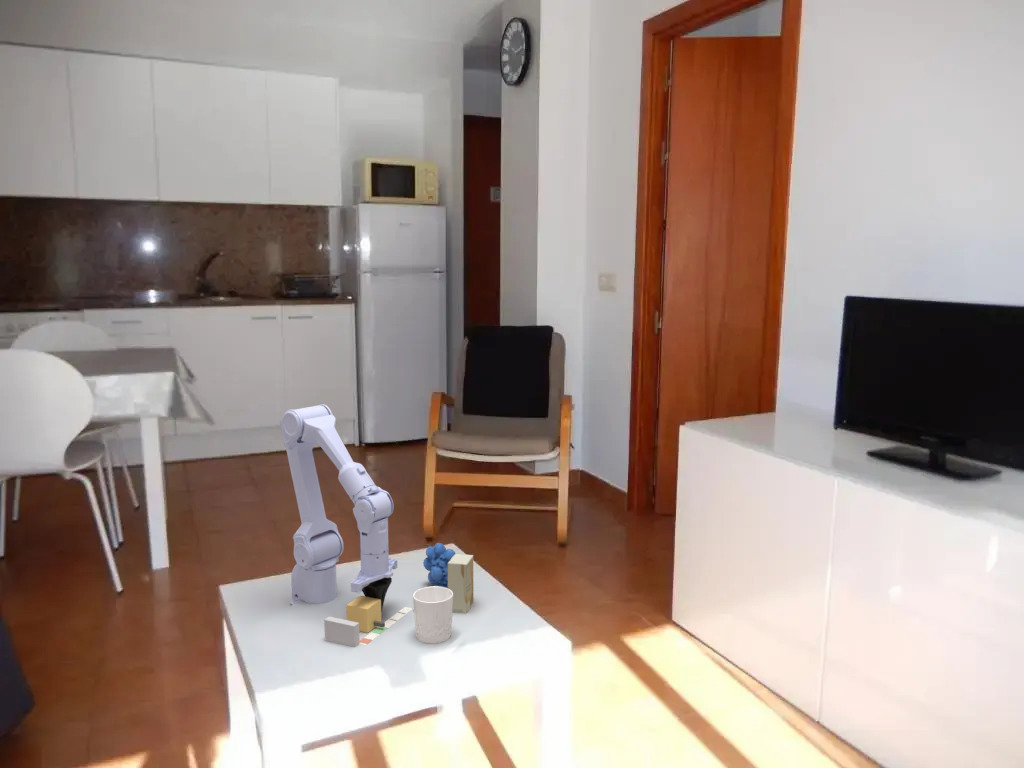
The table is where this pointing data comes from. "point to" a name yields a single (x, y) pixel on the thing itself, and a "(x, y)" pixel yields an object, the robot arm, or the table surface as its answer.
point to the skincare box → (461, 582)
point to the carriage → (365, 613)
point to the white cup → (433, 614)
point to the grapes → (438, 564)
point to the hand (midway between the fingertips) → (375, 612)
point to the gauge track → (355, 630)
